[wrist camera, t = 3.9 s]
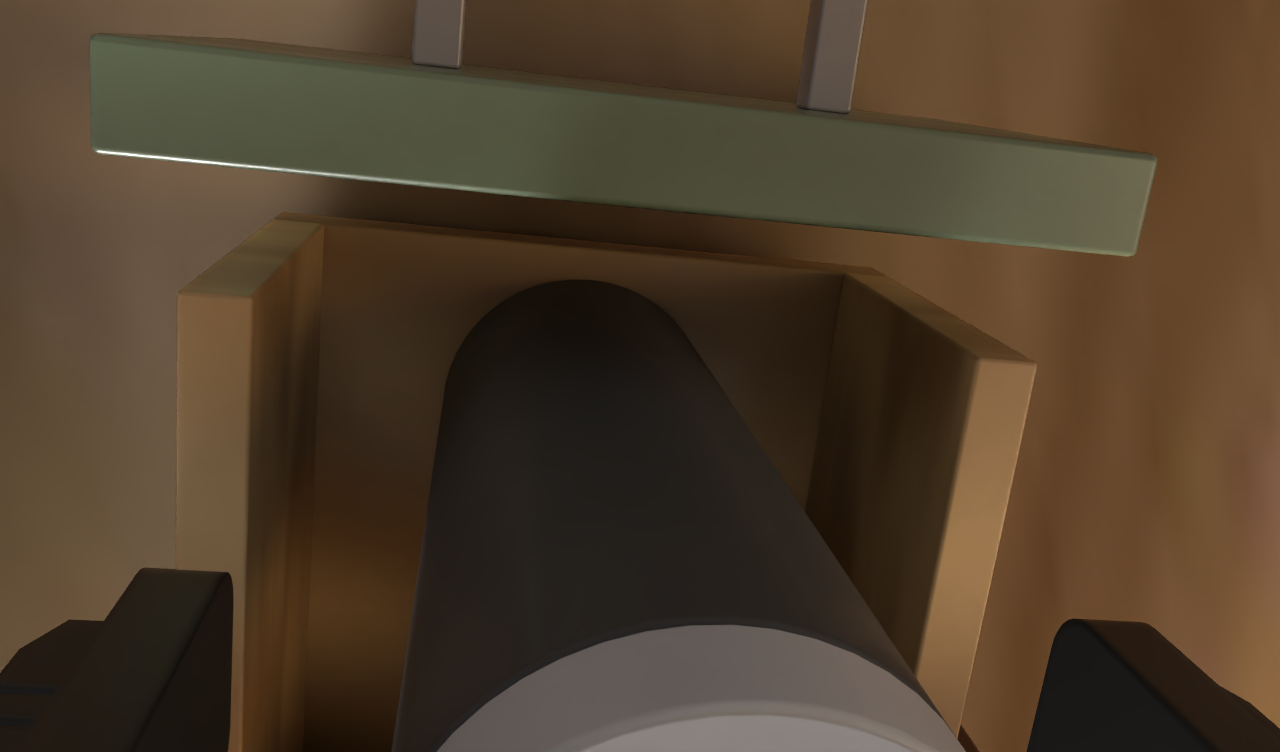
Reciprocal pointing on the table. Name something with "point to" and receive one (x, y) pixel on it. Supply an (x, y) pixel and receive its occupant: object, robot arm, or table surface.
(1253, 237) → the table surface
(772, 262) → the drawer
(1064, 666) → the robot arm
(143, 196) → the table surface
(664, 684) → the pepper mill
